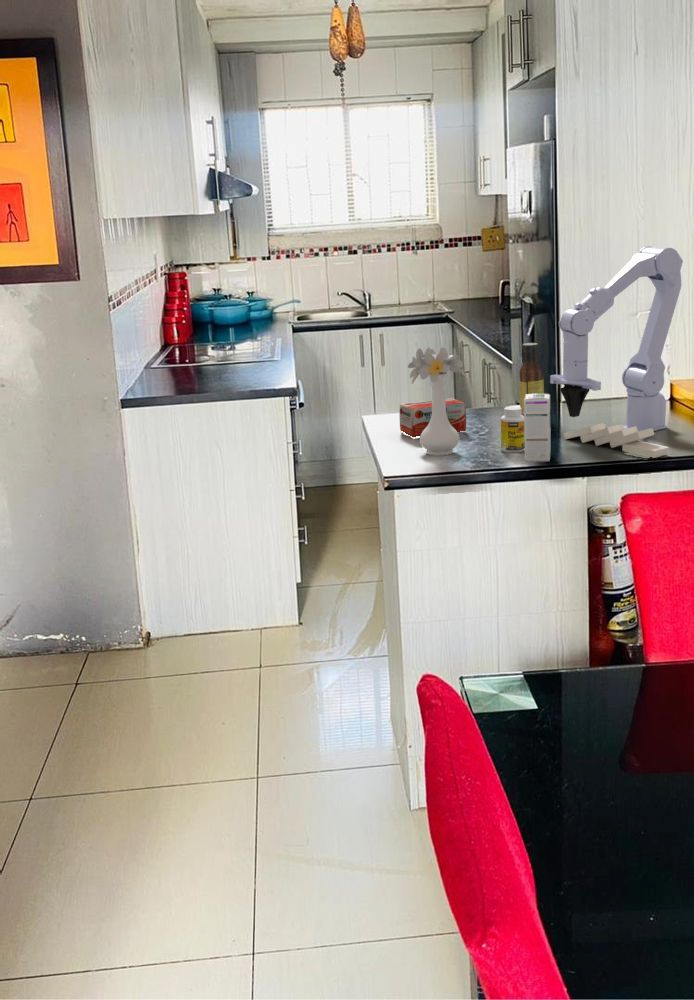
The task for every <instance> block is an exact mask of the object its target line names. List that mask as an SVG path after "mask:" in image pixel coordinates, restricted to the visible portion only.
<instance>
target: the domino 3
mask: <svg viewBox="0 0 694 1000" xmlns="http://www.w3.org/2000/svg"><path fill="white" fill-rule="evenodd" d="M635 432H638V430H637V427H636V426H635V427H631V428H627V429H623V430H620V431H617V432H614V433H611V434H608V435H606V436H603V437H600V438H597V439H594V440H593V441H594V444H595V446H596V447H598V446H603V445H606V444H610V442H609V441H612V440H615V439H618V438H621V437H624V436H626V435H629V434H632V433H635Z"/></svg>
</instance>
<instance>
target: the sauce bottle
mask: <svg viewBox="0 0 694 1000" xmlns="http://www.w3.org/2000/svg"><path fill="white" fill-rule="evenodd" d="M521 347H522V352H523V353H522V354H523V355H522V356H523V358H522V364H521V366H520V368H519V371H518V373H519V407H521V409H522V414H521V415H523V416H524V398H525V395H526V394H535V393H543V394H545V388H544V387H545V386H544V375H543V369H542V368H541V366H540V363H539V354H538V350H539V343H536V342H527V343H522V346H521Z"/></svg>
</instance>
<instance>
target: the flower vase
mask: <svg viewBox="0 0 694 1000" xmlns="http://www.w3.org/2000/svg"><path fill="white" fill-rule="evenodd" d="M415 353H416V355H415V356H414V355H413V356H412V358H411V359H412V361H411V362H410V363H408V365H407V369H412V370H411V372H410V373H409V379H412V381H411V385H413V384H414V382H415V381H416V380H417V378H418V377H419V376H420V379H421V380H426V379H427V378H428V377H429V379H430V385H431V392H432V394H431V395H432V397H431V400H432V415H431V419H430V422H429V424H428V426H427V427H426V428H425V429H424V430H423V431H422V433H421V436H420V438H419V443H420V445H421V446H422V447H423V448H424V449H425V450H426V454H427V453H428V454H427V455H429V454H430V455H429V456H433V455H434V457H435V456H436V457H441V456H442V457H444V456H449V455H452V453H453V452H454V450H453V449H455V448H456V447H457V446H458V444H459V443H460V435H459V434H460V433H458V432H457V431H456V430H455V429H454V428H453V427H452V426H451V424H450V422H449V420H448V418H447V414H446V405H445V399H446V382H447V377H448V375H449V373H448V372H449V371H451V372H453V373H459V374H461V375H462V376H464V377H465V378H466V379H467V378H468V376H467V374H466V372H465V370H463V369H462V367H463V366H464V363H463V360H462V358H461V356H460V355H458V354H457V350H456V347H453V352H452V355H449V353H448V350H447V348H445V347H443V346H442V347H440V349H439V352H438V354H436V351H435V350H434V349H433V348H431V347H427V348H426V350H425V351H424V352H423V349H422V348H417V351H416V352H415Z"/></svg>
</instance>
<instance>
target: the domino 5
mask: <svg viewBox="0 0 694 1000" xmlns="http://www.w3.org/2000/svg"><path fill="white" fill-rule="evenodd" d="M622 452H624V453H628V452H629V453H634V454H638V455H643V456H647V457H652V458H651V459H655V458H656V459H657V458H659V457H663V456H666V455H669V454H670V447H669V446H666V445H665V446H664V445H660V444H655V443H651V442H647V441H642V440H637V441H633V442H629V443H625V444H623V445H622Z"/></svg>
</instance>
